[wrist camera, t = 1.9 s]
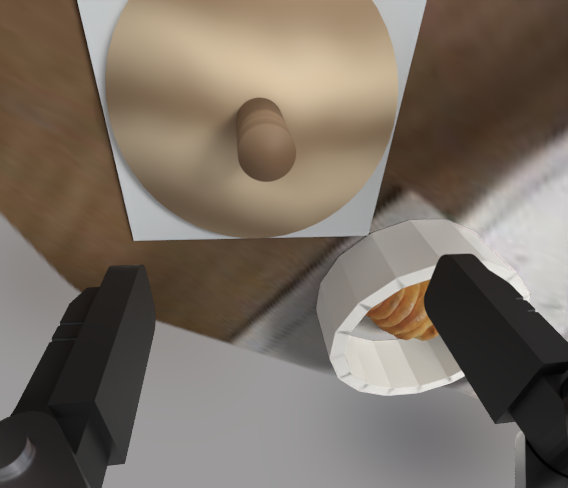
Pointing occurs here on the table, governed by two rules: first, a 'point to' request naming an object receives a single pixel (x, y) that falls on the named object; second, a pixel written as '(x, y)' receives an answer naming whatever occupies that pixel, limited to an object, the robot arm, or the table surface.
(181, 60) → the lid
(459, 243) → the bowl
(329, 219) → the mat
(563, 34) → the table surface
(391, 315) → the pastry
